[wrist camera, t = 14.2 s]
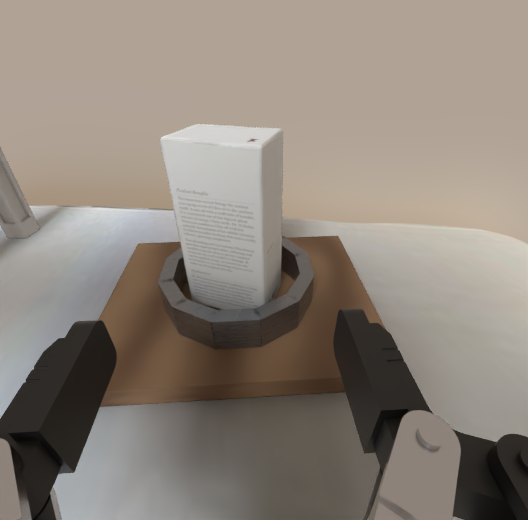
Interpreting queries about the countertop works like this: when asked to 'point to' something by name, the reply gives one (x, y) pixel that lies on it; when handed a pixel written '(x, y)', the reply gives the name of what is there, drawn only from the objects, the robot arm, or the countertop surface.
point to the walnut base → (226, 360)
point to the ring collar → (238, 320)
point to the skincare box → (228, 211)
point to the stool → (14, 205)
